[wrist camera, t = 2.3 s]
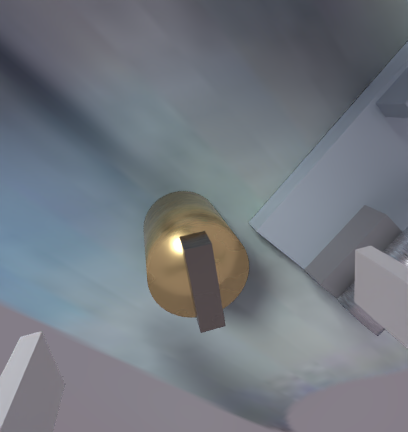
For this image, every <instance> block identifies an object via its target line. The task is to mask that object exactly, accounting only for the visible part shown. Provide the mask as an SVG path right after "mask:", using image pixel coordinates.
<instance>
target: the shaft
mask: <svg viewBox="0 0 408 432" xmlns="http://www.w3.org/2000/svg"><path fill="white" fill-rule="evenodd" d="M383 253H385V254H386V255H388V256H390V257H392V258H393V259H395V260H397V261H398V262H400V263H402V264H404V265H405V266H407V267H408V226H407V227H406V228H405V230H404V231H403V232H402V233H401V234H400V235H399V236H398V237H397V238H396V239H395V240H394V241H393V242H392V243H391V244H390V245H389V246H388V247H387V248H386V249H385V250H384V251H383ZM354 289H355V281H354V282H353V283H352V284H351V285H350V286H349V287H348V288H347V289H346V290H345V291H344V292H343V293H342V294H341V295H340V297H339V298H338V299H337V300H338V301H339V302H340V303H341V304H342V305H343V306H344V307H345V308H346V309H347V310H348V311H349V312H350V313H351V314H352V315H353V316H354V317H355V318H357V319H358V320H359V321H360V322H361V323H362V324H363V325H364V326H366V327H367V328H368V329H369V330H370V331H372V332H373V333H374V334H375V335H377V336H378V335H379V334H380V333H381V332H382V331H383V330H385V328H383V327H382V326H381V325H380V324H379V323H378V322H377V321H375V320H374V319H373V318H372V317H371V316H370V315H369V314H368V313H366V312H365V311H364V310H363V309H362V308H361V307H360V306H359V305H357V304H356V303H355V302H354Z"/></svg>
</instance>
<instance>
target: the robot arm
mask: <svg viewBox="0 0 408 432" xmlns="http://www.w3.org/2000/svg"><path fill="white" fill-rule="evenodd" d="M354 302H355V303H356V304H357V305H359V306H360V307H361V308H362V309H363V310H364V311H365V312H366V313H368V314H369V315H370V316H371V317H372V318H373V319H374V320H375V321H377V322H378V323H379V324H380V325H381V326H382V327H383V328H385V329H386V330H387V331H388V332H389V333H390V334H391V335H392V336H394V337H395V338H396V339H397V340H398V341H399V342H400V343H401V344H403V345H404V346H405V347H406V348H407V349H408V267H407V266H405V265H404V264H402V263H400V262H398V261H397V260H395V259H393V258H392V257H390V256H388V255H386V254H385V253H383V252H381V251H380V250H378V249H376V248H374V247H373V246H367V247H363V248H359V249H356V250H355V289H354ZM64 387H65V383H64V380H63V378H62V376H61V374H60V371H59V369H58V367H57V365H56V362H55V360H54V358H53V356H52V353H51V351H50V349H49V346H48V344H47V342H46V339H45V338H44V335H43V333H42V331H41V332H37V333H33V334H30V335H25V336H22V337H20V339H19V341H18V343H17V345H16V347H15V349H14V351H13V353H12V355H11V357H10V359H9V361H8V363H7V365H6V367H5V369H4V371H3V372H2V374H1V376H0V432H53V430H54V426H55V422H56V418H57V415H58V411H59V407H60V402H61V399H62V395H63V391H64Z"/></svg>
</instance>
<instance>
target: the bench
mask: <svg viewBox="0 0 408 432" xmlns="http://www.w3.org/2000/svg"><path fill="white" fill-rule="evenodd" d="M249 224H250V225H251V226H252V227H253V228H254V229H255V230H256V231H257V232H258V233H259V234H260V235H262V236H263V237H264V238H265V239H267V240H268V241H269V242H270V243H272V244H273V245H274V246H275V247H277V248H278V249H279V250H280V251H282V252H283V253H284V254H285V255H287V256H288V257H289V258H290V259H292V260H293V261H294V262H295V263H297V264H298V265H299V266H300V267H302V268H303V269H304V270H305V271H306V272H307V273H308V274H309V275H310V276H311V277H312V278H313V279H314V280H315V281H316V282H317V283H318V284H319V285H321V286H322V287H323V288H324V289H326V290H327V291H328V292H329V293H331V294H332V295H333V296H334V297H336V298H337V299H338V298H339V297H340V295H341V294H342V293H343V292H344V291H345V290H346V289H347V288H348V287H349V286H350V285H351V284H352V283H353V282H354V281H355V250H356V249H359V248H363V247H367V246H373V247H374V248H376V249H378V250H380V251H381V252H383V251H384V250H385V249H386V248H387V247H388V246H389V245H390V244H391V243H392V242H393V241H394V240H395V239H396V238H397V237H398V236H399V235H400V234H401V233H402V232H403V231H404V230H405V228H406V227H407V226H408V41H407V42H406V44H405V45H404V46H403V47H402V48H401V49H400V50H399V52H398V53H397V54H396V55H395V56H394V57H393V58H392V60H391V61H390V62H389V63H388V64H387V65H386V66H385V68H384V69H383V70H382V71H381V72H380V73H379V74H378V76H377V77H376V78H375V79H374V80H373V81H372V82H371V84H370V85H369V86H368V87H367V88H366V89H365V90H364V92H363V93H362V94H361V95H360V96H359V97H358V98H357V100H356V101H355V102H354V103H353V104H352V105H351V106H350V108H349V109H348V110H347V111H346V112H345V113H344V114H343V116H342V117H341V118H340V119H339V120H338V121H337V122H336V124H335V125H334V126H333V127H332V128H331V129H330V130H329V132H328V133H327V134H326V135H325V136H324V137H323V138H322V140H321V141H320V142H319V143H318V144H317V145H316V146H315V148H314V149H313V150H312V151H311V152H310V153H309V154H308V155H307V157H306V158H305V159H304V160H303V161H302V162H301V163H300V165H299V166H298V167H297V168H296V169H295V170H294V171H293V173H292V174H291V175H290V176H289V177H288V178H287V179H286V181H285V182H284V183H283V184H282V185H281V186H280V187H279V189H278V190H277V191H276V192H275V193H274V194H273V195H272V197H271V198H270V199H269V200H268V201H267V202H266V203H265V205H264V206H263V207H262V208H261V209H260V210H259V211H258V213H257V214H256V215H255V216H254V217H253V218H252V219H251V221H250V222H249Z"/></svg>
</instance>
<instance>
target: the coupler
mask: <svg viewBox="0 0 408 432" xmlns="http://www.w3.org/2000/svg"><path fill="white" fill-rule="evenodd" d="M144 242H145V255H146V268H147V282H148V287H149V290H150V293H151V295H152V297H153V298H154V300H155V301H156V302H157V303H158V304H159V305H160V306H161V307H162V308H163V309H165V310H166V311H168V312H170V313H172V314H175V315H178V316H182V317H196V318H197V321H198V325H199V328H200V332H201V333H202V332H206V331H209V330H213V329H216V328H220V327H223V326H225V320H224V314H223V308H225V307H226V306H228V305H229V304H230V303H231V302H233V301H234V300H235V299H236V298H237V296H238V295H239V294H240V292H241V291H242V289H243V288H244V286H245V283H246V281H247V278H248V273H249V260H248V256H247V253H246V250H245V248H244V247H243V245H242V244H241V242H240V241H239V240H238V238H237V237H236V236H235V234H234V233H233V232H232V230H231V229H230V228H229V226H228V225H227V224H226V223H225V221H224V220H223V219H222V217H221V216H220V215H219V213H218V212H217V211H216V209H215V208H214V207H213V205H212V204H211V203H210V202H209V201H208V200H207V199H206V198H204V197H203V196H201V195H199V194H197V193H193V192H188V191H178V192H173V193H170V194H167V195H165V196H163V197H162V198H160V199H159V200H157V201H156V202H155V203H154V204H153V205H152V206H151V208H150V209H149V211H148V213H147V215H146V217H145V221H144Z"/></svg>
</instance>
